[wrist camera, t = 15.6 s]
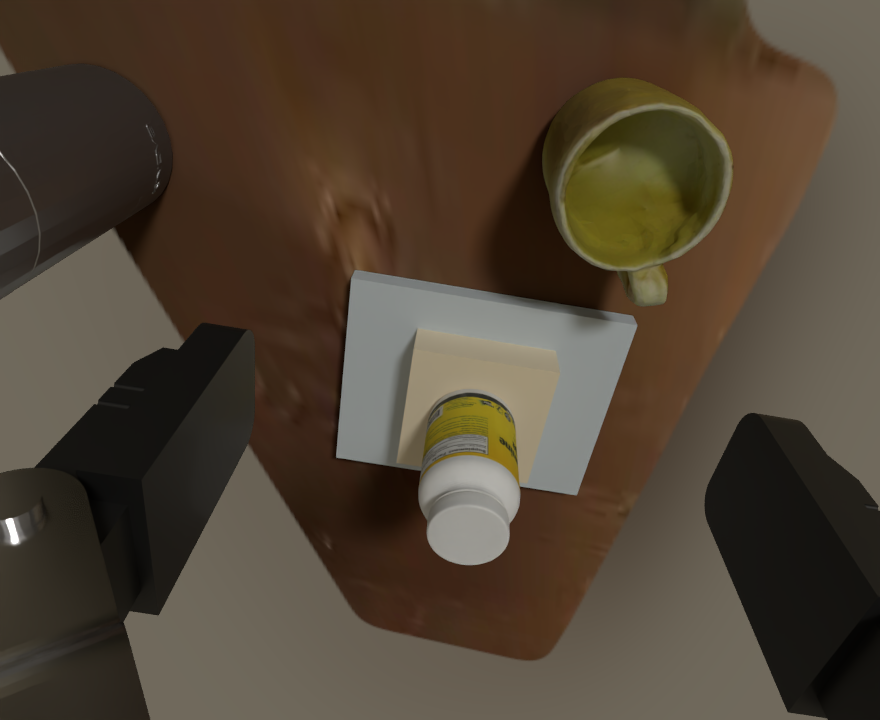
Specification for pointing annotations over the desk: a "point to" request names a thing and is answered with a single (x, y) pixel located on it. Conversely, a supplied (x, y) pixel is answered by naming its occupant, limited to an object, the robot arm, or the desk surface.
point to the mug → (635, 180)
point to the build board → (483, 319)
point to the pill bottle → (469, 476)
